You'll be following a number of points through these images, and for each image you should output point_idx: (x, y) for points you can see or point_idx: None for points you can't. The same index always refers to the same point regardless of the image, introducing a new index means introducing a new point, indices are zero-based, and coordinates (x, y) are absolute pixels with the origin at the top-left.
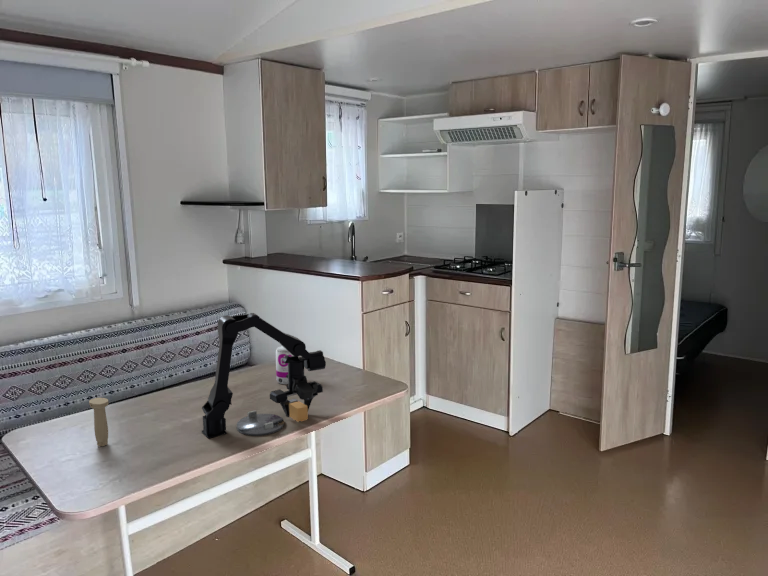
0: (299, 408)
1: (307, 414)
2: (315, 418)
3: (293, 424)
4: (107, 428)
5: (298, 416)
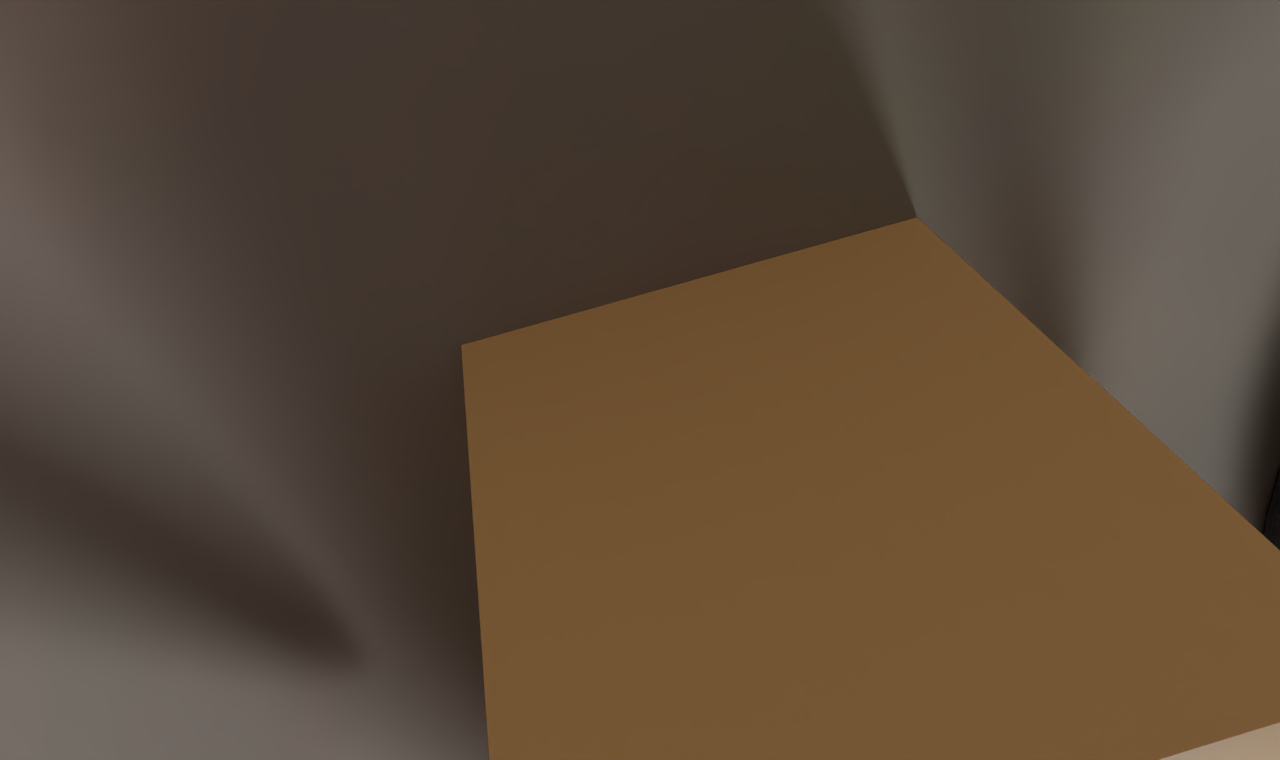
0: (1241, 721)
1: (486, 481)
2: (95, 342)
3: (1170, 62)
4: None
5: (1013, 348)
